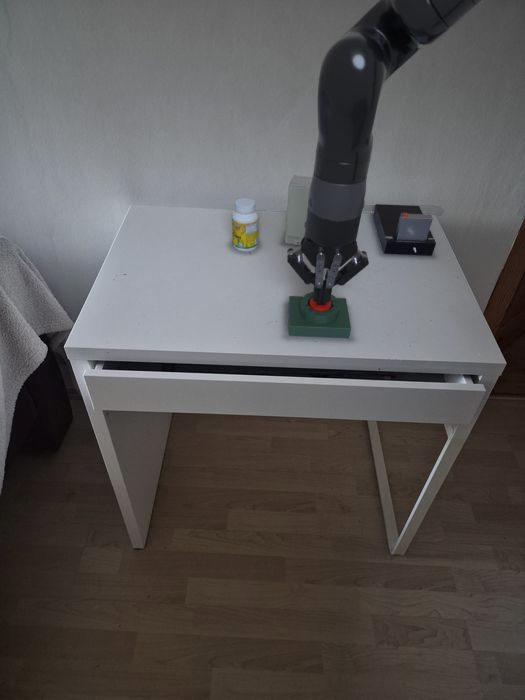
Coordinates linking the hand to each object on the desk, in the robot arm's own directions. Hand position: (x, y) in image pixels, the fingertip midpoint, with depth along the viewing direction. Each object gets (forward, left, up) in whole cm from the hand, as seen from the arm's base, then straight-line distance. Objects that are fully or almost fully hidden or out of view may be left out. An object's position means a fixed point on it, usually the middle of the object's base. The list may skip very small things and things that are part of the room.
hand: (320, 302), depth 74 cm
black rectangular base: (-4, -34, -4) cm, 35 cm away
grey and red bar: (-6, -30, -1) cm, 31 cm away
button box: (0, 0, -4) cm, 4 cm away
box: (+15, -22, -4) cm, 27 cm away
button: (0, 0, -2) cm, 2 cm away
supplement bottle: (+23, -14, -4) cm, 27 cm away
